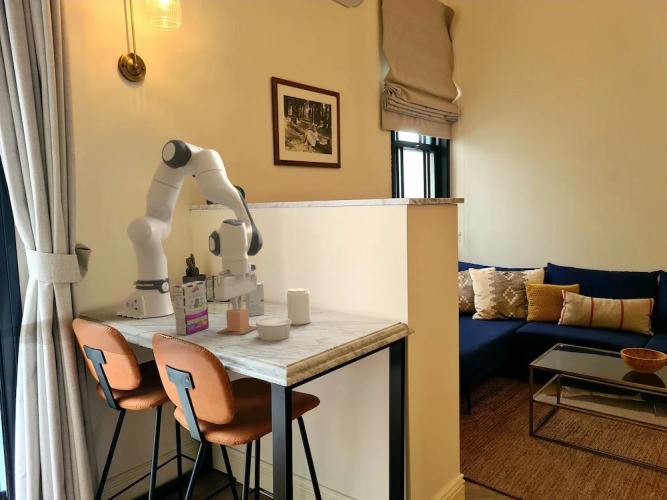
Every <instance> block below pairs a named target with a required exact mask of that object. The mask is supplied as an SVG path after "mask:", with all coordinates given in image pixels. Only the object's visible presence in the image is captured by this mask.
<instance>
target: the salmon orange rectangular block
mask: <svg viewBox="0 0 667 500" xmlns="http://www.w3.org/2000/svg"><path fill="white" fill-rule="evenodd" d="M225 314H226V328H227V330H228V331H240V332H241V331H243V330H245V329H248V328H249V326H250V322H249V321H250V320H249V319H250V318H249V317H250V316H249V315H248V309H246V308H243V307H242V308H241V309H238V310H233V308H231V309H228V310H226V313H225Z"/></svg>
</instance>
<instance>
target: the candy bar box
mask: <svg viewBox="0 0 667 500" xmlns="http://www.w3.org/2000/svg"><path fill="white" fill-rule="evenodd" d="M172 290H173V302H174V303H173V304H174V305H173V306H174V314H175V316H174V317H175V327H176V328H175V331H176V332H175V333H176V335H178V336H179V335H180V336H190V335H192V334H196V333H199V332H200V331H203V330H206V329H208V328H210V326H209V309H208V296H207V295H208V294H207V293H208V292H207V281H204V280H202V281H201V280H200V281H199V280H195V281H191V282H187V283H181V284H177V285H174V286H172Z"/></svg>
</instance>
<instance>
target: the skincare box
mask: <svg viewBox="0 0 667 500" xmlns="http://www.w3.org/2000/svg"><path fill="white" fill-rule="evenodd" d="M244 295H245V297H244V298H245V309H248V315H249V317H253V316H261V315H265V299H264V296H265V295H264V283H263V282H258V281H257V288H256V290H255V291H254V292H250V293H247V294H244Z"/></svg>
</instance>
